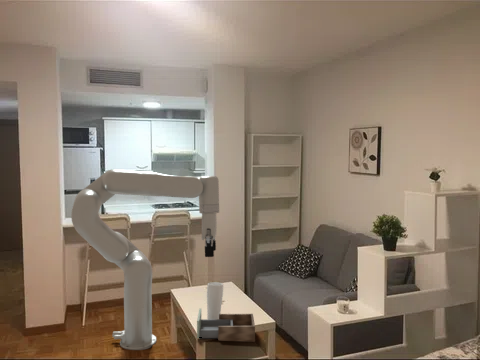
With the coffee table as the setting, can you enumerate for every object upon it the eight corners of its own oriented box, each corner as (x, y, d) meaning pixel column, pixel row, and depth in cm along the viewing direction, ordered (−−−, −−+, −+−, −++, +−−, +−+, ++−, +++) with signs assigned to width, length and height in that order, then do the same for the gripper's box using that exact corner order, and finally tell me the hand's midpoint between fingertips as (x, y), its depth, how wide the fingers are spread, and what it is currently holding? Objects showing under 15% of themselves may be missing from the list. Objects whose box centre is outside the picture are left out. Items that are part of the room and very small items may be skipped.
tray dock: (218, 342, 147) (218, 326, 147) (219, 328, 160) (219, 313, 160) (254, 342, 148) (255, 326, 148) (252, 328, 160) (252, 313, 160)
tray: (197, 339, 147) (197, 320, 147) (199, 325, 160) (199, 308, 159) (233, 339, 148) (233, 320, 147) (232, 325, 160) (232, 308, 160)
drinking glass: (223, 318, 171) (225, 283, 171) (218, 323, 164) (220, 286, 165) (208, 316, 172) (210, 281, 173) (203, 321, 166) (205, 284, 167)
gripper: (201, 206, 159) (203, 248, 160) (196, 212, 142) (198, 259, 143) (220, 205, 159) (221, 248, 160) (217, 211, 142) (218, 259, 143)
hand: (210, 253), depth 152 cm, fingers open, 9 cm apart
